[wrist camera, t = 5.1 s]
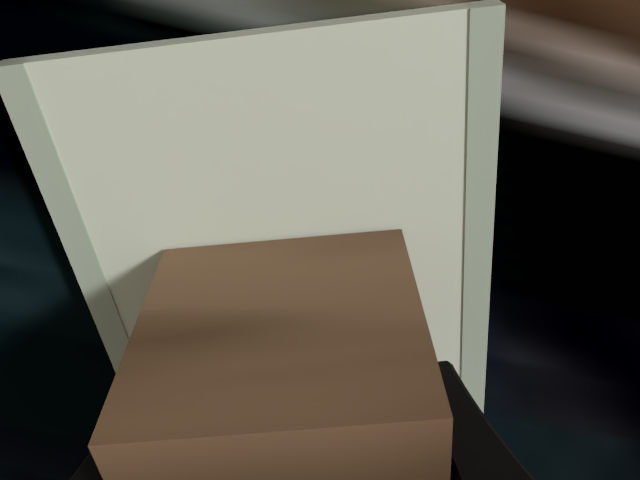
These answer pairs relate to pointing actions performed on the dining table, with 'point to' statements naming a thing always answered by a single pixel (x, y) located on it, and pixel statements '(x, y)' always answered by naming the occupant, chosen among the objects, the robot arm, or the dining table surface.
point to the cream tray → (276, 153)
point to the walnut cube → (279, 368)
